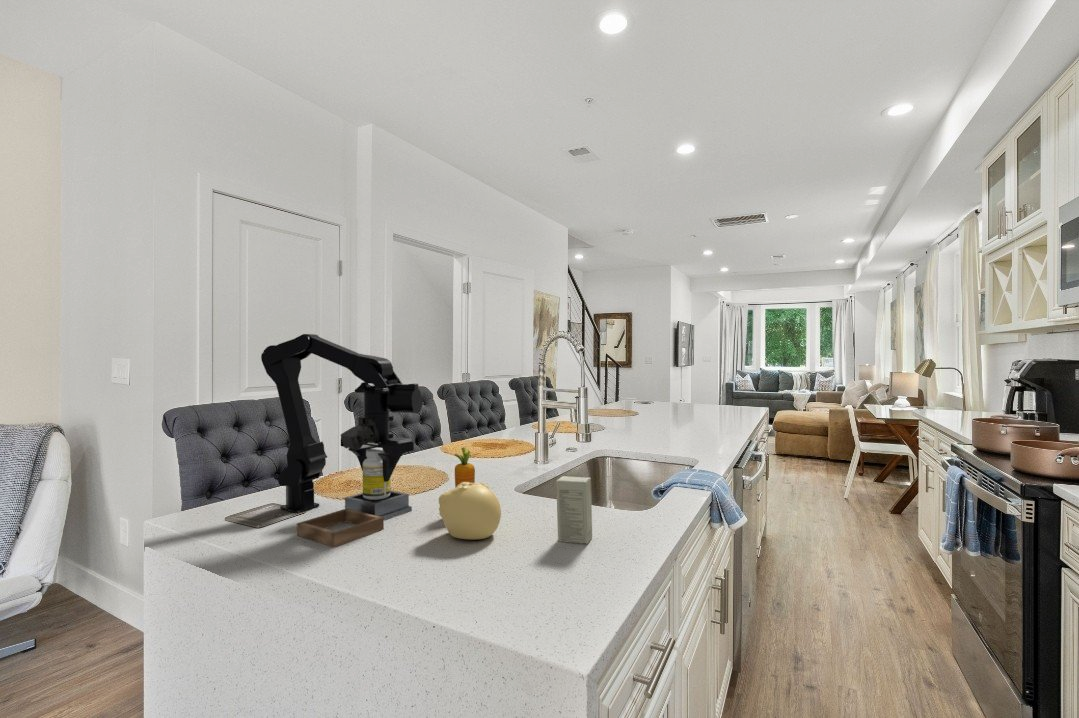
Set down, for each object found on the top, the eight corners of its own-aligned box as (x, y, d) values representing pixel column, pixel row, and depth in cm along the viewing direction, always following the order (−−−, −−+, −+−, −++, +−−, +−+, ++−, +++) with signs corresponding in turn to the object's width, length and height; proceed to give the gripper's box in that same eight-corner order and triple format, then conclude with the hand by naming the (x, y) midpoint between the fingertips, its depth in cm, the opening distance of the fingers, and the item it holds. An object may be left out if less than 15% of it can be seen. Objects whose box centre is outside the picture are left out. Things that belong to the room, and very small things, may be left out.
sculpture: (475, 522, 117) (475, 473, 117) (512, 535, 109) (511, 483, 108) (431, 535, 109) (430, 482, 109) (466, 550, 101) (466, 493, 100)
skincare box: (592, 537, 107) (592, 477, 107) (587, 545, 103) (587, 482, 103) (562, 534, 110) (562, 474, 109) (555, 541, 105) (555, 479, 105)
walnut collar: (297, 535, 109) (296, 523, 109) (346, 519, 119) (346, 508, 119) (334, 547, 102) (334, 534, 102) (383, 529, 113) (383, 517, 112)
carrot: (471, 516, 121) (471, 450, 121) (450, 515, 122) (450, 449, 122) (478, 510, 126) (478, 446, 126) (458, 508, 127) (458, 446, 127)
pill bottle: (379, 491, 128) (379, 445, 128) (396, 496, 124) (396, 449, 124) (356, 497, 123) (357, 449, 123) (373, 502, 119) (374, 453, 119)
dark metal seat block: (341, 515, 122) (341, 497, 122) (379, 503, 131) (379, 487, 131) (374, 523, 116) (374, 505, 116) (411, 510, 126) (411, 493, 125)
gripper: (320, 413, 122) (320, 481, 122) (376, 419, 112) (376, 493, 112) (360, 408, 131) (360, 471, 131) (415, 413, 121) (415, 482, 121)
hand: (376, 479), depth 124 cm, fingers closed on pill bottle, 6 cm apart
